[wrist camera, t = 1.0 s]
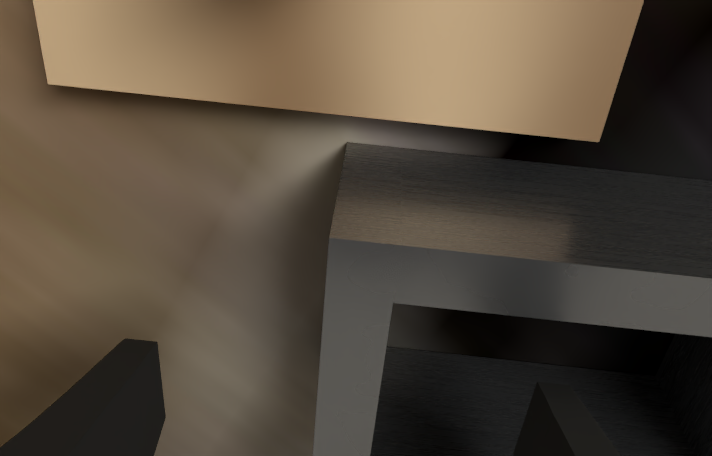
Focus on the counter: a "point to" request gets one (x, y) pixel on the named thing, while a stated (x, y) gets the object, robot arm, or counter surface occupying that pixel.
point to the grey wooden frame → (510, 300)
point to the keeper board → (356, 57)
